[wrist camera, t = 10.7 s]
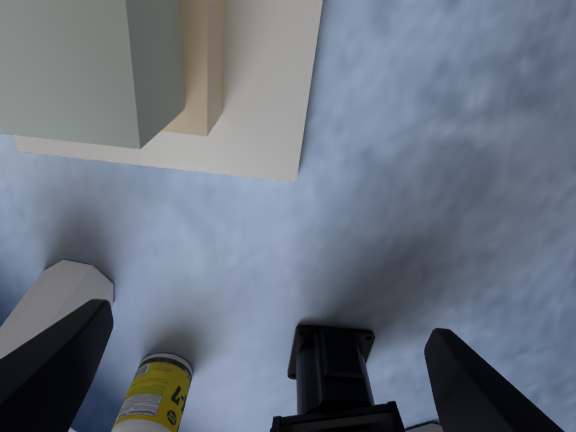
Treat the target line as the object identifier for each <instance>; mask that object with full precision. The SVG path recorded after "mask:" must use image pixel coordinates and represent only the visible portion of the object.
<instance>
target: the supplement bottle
mask: <svg viewBox="0 0 576 432" xmlns="http://www.w3.org/2000/svg"><path fill="white" fill-rule="evenodd" d="M192 375H193V374H192V369H191V367H190V365H189V364H188V363H187V362H186V361H185V360H184V359H182V358H180V357H178V356H176V355H172V354H165V353H160V354H153V355H150V356H148V357H146V358H145V359H144V360H143V361H142V362H141V363H140V365H139V368H138V370H137V372H136V374H135V377H134V379H133V381H132V384H131V386H130V388H129V391H128V393H127V396H126V398H125V400H124V403H123V405H122V407H121V410H120V412H119V414H118V417H117V419H116V421H115V424H114V426H113V428H112V431H111V432H178V429H179V426H180V422H181V418H182V414H183V411H184V407H185V403H186V399H187V396H188V392H189V388H190V384H191V381H192Z"/></svg>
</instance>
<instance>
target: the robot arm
mask: <svg viewBox="0 0 576 432" xmlns="http://www.w3.org/2000/svg"><path fill="white" fill-rule="evenodd" d="M112 329H113V316H112V310H111V305H110V302H109V301H108V300H106V299H91V300H89V301H88V302H86V303H85V304H83V305H81V306H80V307H78V308H77V309H75V310H74V311H72V312H71V313H69V314H68V315H66V316H65V317H63V318H62V319H60V320H59V321H57V322H56V323H54V324H53V325H51V326H50V327H48V328H47V329H45V330H44V331H42V332H41V333H39V334H38V335H36V336H35V337H33V338H32V339H30V340H28V341H27V342H25V343H24V344H22V345H21V346H19V347H18V348H16V349H15V350H13V351H12V352H10V353H9V354H7V355H6V356H4V357H3V358H1V359H0V432H68V430H69V429H70V427H71V425H72V423H73V421H74V419H75V417H76V415H77V413H78V411H79V409H80V407H81V405H82V403H83V401H84V399H85V397H86V395H87V393H88V391H89V389H90V386H91V384H92V382H93V379H94V377H95V374H96V372H97V369H98V366H99V364H100V361H101V358H102V356H103V353H104V350H105V348H106V345H107V343H108V340H109V337H110V335H111V332H112ZM374 340H375V336H374V333H373V331H370V330H361V329H349V328H337V327H325V326H313V325H298V326H297V327H296V330H295V335H294V340H293V345H292V351H291V356H290V361H289V367H288V378H290V379H296V380H297V415H294V416H286V417H281V416H275V417H273V423H272V428H271V429H270V432H405V429H404V426H403V423H402V420H401V417H400V414H399V411H398V408H397V405H396V402H395V401H390V402H388V403H386V404H378V405H375V404H374V399H373V395H372V390H371V386H370V382H369V377H368V373H367V368H366V362H367V359H368V356H369V353H370V351H371V348H372V345H373V342H374ZM424 354H425V360H426V364H427V369H428V374H429V378H430V383H431V388H432V393H433V397H434V402H435V406H436V410H437V413H438V417H439V420H440V423H441V426H442V429H443V432H564V431H563V430H562V429H561V428H560V427H559V426H558V425H557V424H555V423H554V422H553V421H552V420H551V419H550V418H549V417H548V416H546V415H545V414H544V413H543V412H542V411H541V410H540V409H539V408H538V407H536V406H535V405H534V404H533V403H532V402H531V401H530V400H529V399H527V398H526V397H525V396H524V395H523V394H522V393H521V392H520V391H519V390H517V389H516V388H515V387H514V386H513V385H512V384H511V383H510V382H508V381H507V380H506V379H505V378H504V377H503V376H502V375H501V374H499V373H498V372H497V371H496V370H495V369H494V368H493V367H492V366H491V365H489V364H488V363H487V362H486V361H485V360H484V359H483V358H482V357H480V356H479V355H478V354H477V353H476V352H475V351H474V350H473V349H472V348H470V347H469V346H468V345H467V344H466V343H465V342H464V341H463V340H461V339H460V338H459V337H458V336H457V335H456V334H455V333H454V332H452V331H451V330H450V329H444V328H435V329H434V330H433V331H432V333H431V335H430V337H429V339H428V341H427V343H426V346H425V349H424Z"/></svg>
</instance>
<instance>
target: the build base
mask: <svg viewBox="0 0 576 432" xmlns="http://www.w3.org/2000/svg"><path fill="white" fill-rule="evenodd" d="M322 3H323V0H181V13H182V47H183V81H184V111H183V112H182V113H180V114H179V115H178V116H177V117H176V118H175V119H174V120H173V121H172V122H170V123H169V124H168V125H167V126H166V127H165V128H164V129H163V130H161V131H160V132H159V133H158V134H157V135H156V136H155V137H154V138H153V139H151V140H150V141H149V142H148V143H147V144H146V145H145V146H144V147H142V148H141V149H132V148H123V147H115V146H106V145H97V144H88V143H79V142H70V141H61V140H53V139H44V138H35V137H26V136H17V135H13V137H14V141H15V144H16V148H17V151H18V152H25V153H34V154H43V155H52V156H61V157H70V158H79V159H89V160H98V161H107V162H116V163H125V164H134V165H143V166H152V167H161V168H170V169H179V170H188V171H197V172H206V173H215V174H225V175H234V176H243V177H252V178H261V179H270V180H279V181H288V182H296V181H297V174H298V167H299V160H300V153H301V146H302V140H303V133H304V126H305V119H306V112H307V105H308V99H309V92H310V85H311V78H312V71H313V64H314V58H315V51H316V44H317V37H318V30H319V23H320V17H321V10H322Z"/></svg>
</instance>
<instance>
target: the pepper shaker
mask: <svg viewBox="0 0 576 432" xmlns="http://www.w3.org/2000/svg"><path fill="white" fill-rule="evenodd" d="M113 286H114V285H113V283H112V282H111V281H110V280H109V279H108V278H106V277H105V276H104V275H103V274H102V273H101V272H100V271H99V270H98V269H97V268H96V267H94V266H93V265H89V264H83V263H78V262H73V261H68V260H62V261H60V262H58V263H56V264H55V265H53V266H51V267H49V268H48V269H46V270H44V271H43V272H42V273H41V274H40V275H39V277H38V278H37V279H36V281H35V282H34V283H33V285H32V286H31V287H30V289H29V290H28V291H27V293H26V294H25V295H24V297H23V298H22V300H21V301H20V302H19V304H18V305H17V306H16V308H15V309H14V310H13V312H12V313H11V314H10V316H9V317H8V318H7V320H6V321H5V322H4V324H3V325H2V326H1V328H0V359H1V358H3V357H4V356H6V355H7V354H9V353H10V352H12V351H13V350H15V349H16V348H18V347H19V346H21V345H22V344H24V343H25V342H27V341H28V340H30V339H32V338H33V337H35V336H36V335H38V334H39V333H41V332H42V331H44V330H45V329H47V328H48V327H50V326H51V325H53V324H54V323H56V322H57V321H59V320H60V319H62V318H63V317H65V316H66V315H68V314H69V313H71V312H72V311H74V310H75V309H77V308H78V307H80V306H81V305H83V304H85V303H86V302H88V301H89V300H91V299H106V300H108V301H109V302H110V305H111V307H112V306H113Z"/></svg>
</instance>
